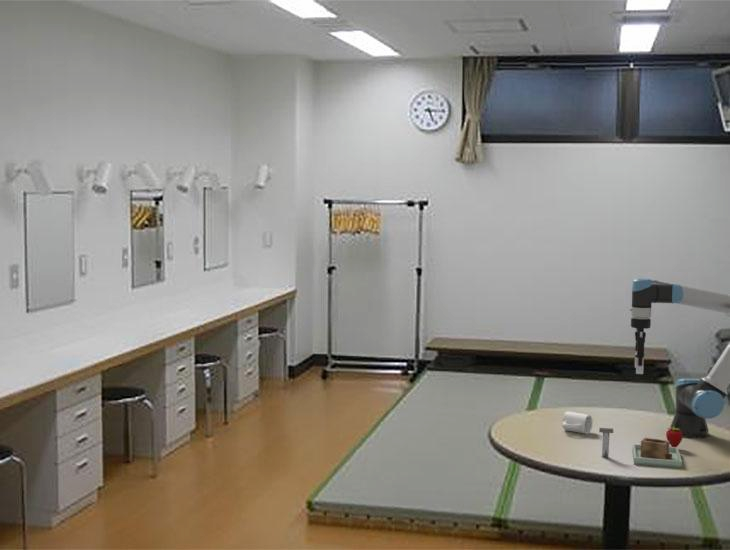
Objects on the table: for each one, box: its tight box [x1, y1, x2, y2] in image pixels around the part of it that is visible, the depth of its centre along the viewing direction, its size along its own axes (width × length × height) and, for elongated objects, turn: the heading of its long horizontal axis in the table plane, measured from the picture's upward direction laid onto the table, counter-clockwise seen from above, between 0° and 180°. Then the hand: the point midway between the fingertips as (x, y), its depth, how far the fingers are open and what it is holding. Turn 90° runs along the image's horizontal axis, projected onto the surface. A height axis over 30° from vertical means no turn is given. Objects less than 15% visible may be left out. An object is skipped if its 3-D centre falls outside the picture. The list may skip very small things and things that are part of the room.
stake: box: [598, 427, 614, 459], centre depth 353 cm, size 5×2×11 cm, turn 76°
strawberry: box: [665, 424, 684, 448], centre depth 366 cm, size 6×8×10 cm
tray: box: [631, 443, 683, 469], centre depth 352 cm, size 17×20×2 cm
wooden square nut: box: [640, 437, 672, 460], centre depth 351 cm, size 11×6×6 cm, turn 59°
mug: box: [561, 411, 594, 435], centre depth 389 cm, size 12×10×8 cm
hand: (638, 370), depth 374 cm, fingers open, 13 cm apart
